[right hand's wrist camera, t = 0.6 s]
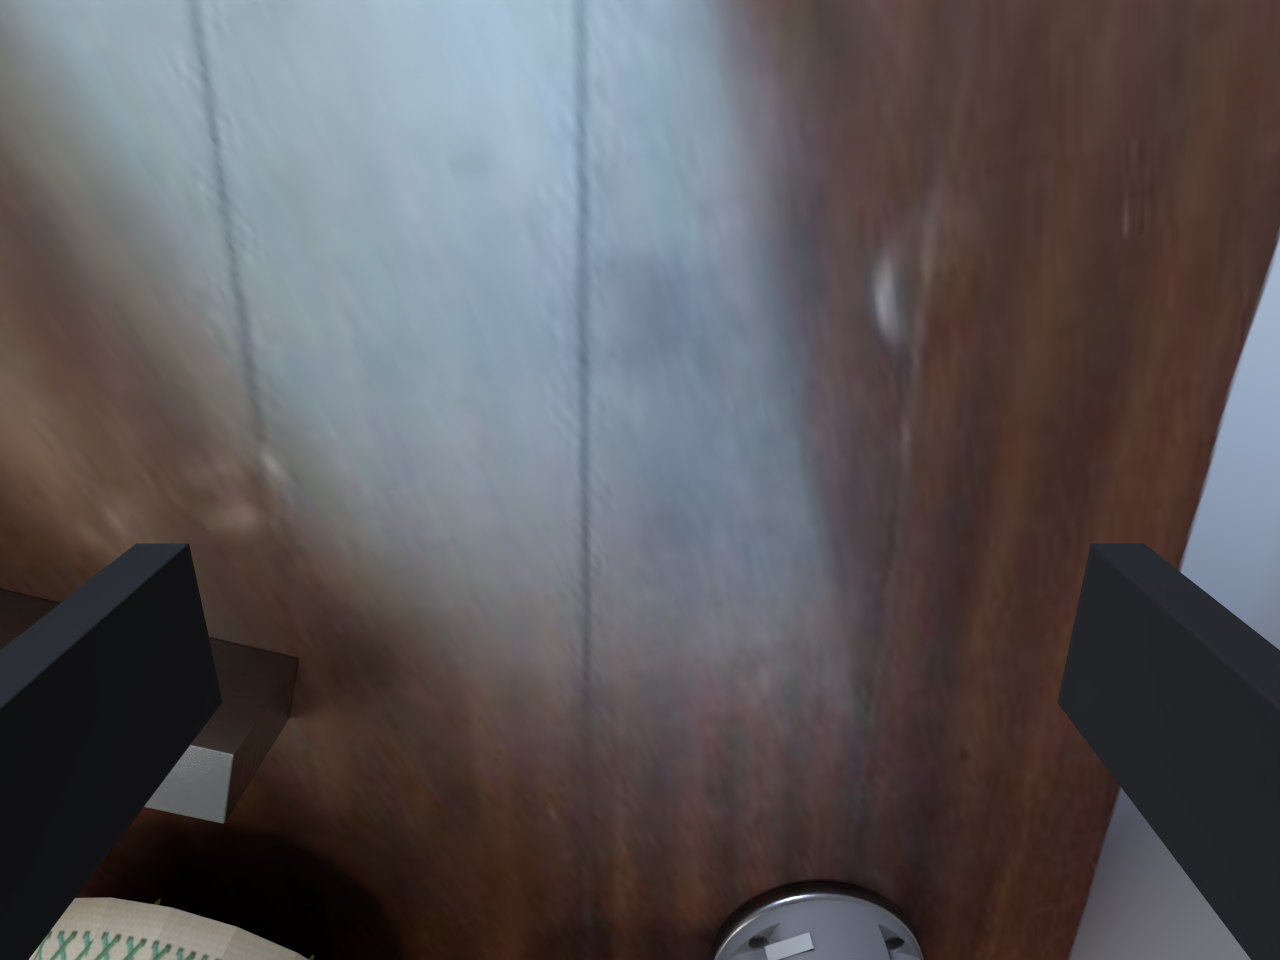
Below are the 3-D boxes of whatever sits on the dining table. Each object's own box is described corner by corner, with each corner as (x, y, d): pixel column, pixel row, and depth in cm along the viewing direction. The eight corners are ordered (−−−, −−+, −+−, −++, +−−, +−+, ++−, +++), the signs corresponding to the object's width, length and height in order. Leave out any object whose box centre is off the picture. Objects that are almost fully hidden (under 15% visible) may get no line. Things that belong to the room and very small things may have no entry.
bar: (298, 658, 53) (233, 755, 45) (288, 719, 55) (224, 824, 47) (-142, 555, 51) (-300, 638, 42) (-138, 623, 52) (-289, 716, 44)
